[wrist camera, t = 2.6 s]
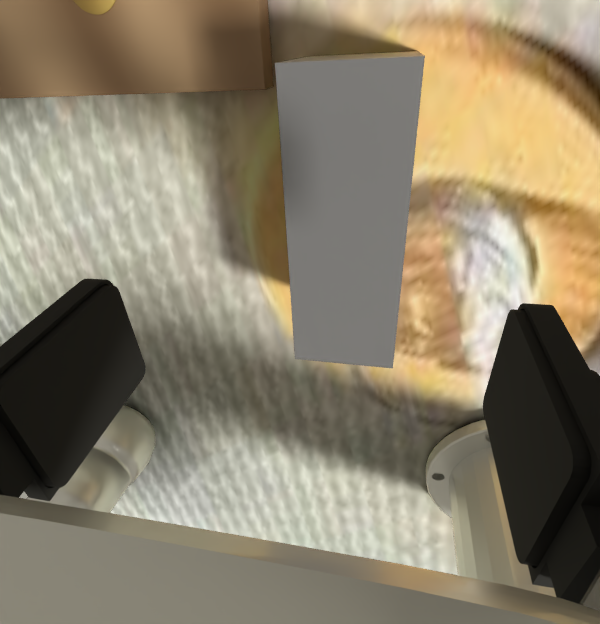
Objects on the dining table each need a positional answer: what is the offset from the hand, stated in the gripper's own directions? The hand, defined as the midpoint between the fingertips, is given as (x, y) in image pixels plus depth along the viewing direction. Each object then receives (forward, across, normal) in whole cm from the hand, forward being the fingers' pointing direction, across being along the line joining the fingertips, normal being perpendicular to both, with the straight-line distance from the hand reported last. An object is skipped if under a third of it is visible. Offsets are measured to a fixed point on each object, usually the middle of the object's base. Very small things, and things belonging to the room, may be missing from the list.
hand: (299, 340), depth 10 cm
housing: (+13, 0, +1) cm, 13 cm away
